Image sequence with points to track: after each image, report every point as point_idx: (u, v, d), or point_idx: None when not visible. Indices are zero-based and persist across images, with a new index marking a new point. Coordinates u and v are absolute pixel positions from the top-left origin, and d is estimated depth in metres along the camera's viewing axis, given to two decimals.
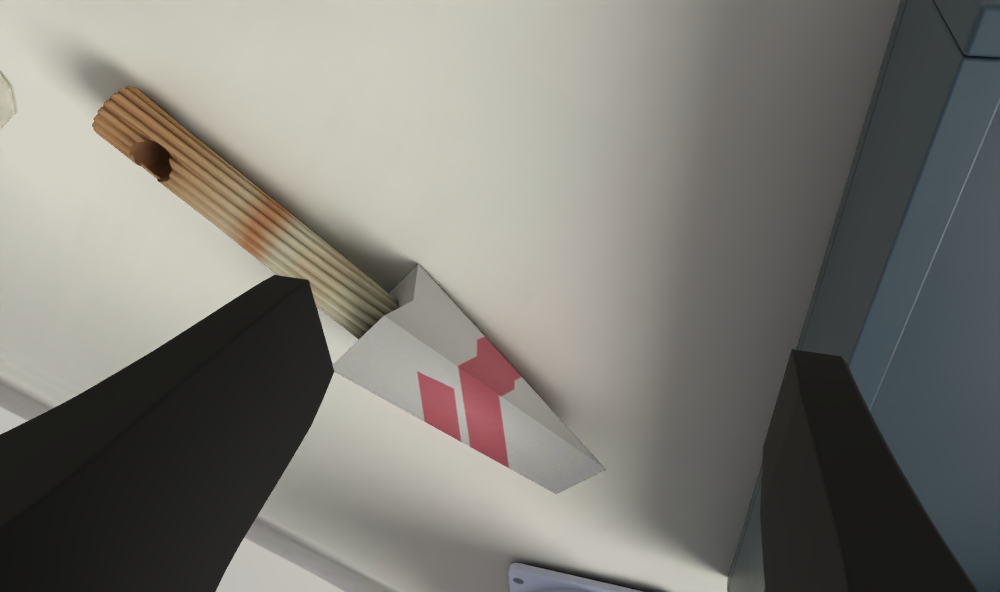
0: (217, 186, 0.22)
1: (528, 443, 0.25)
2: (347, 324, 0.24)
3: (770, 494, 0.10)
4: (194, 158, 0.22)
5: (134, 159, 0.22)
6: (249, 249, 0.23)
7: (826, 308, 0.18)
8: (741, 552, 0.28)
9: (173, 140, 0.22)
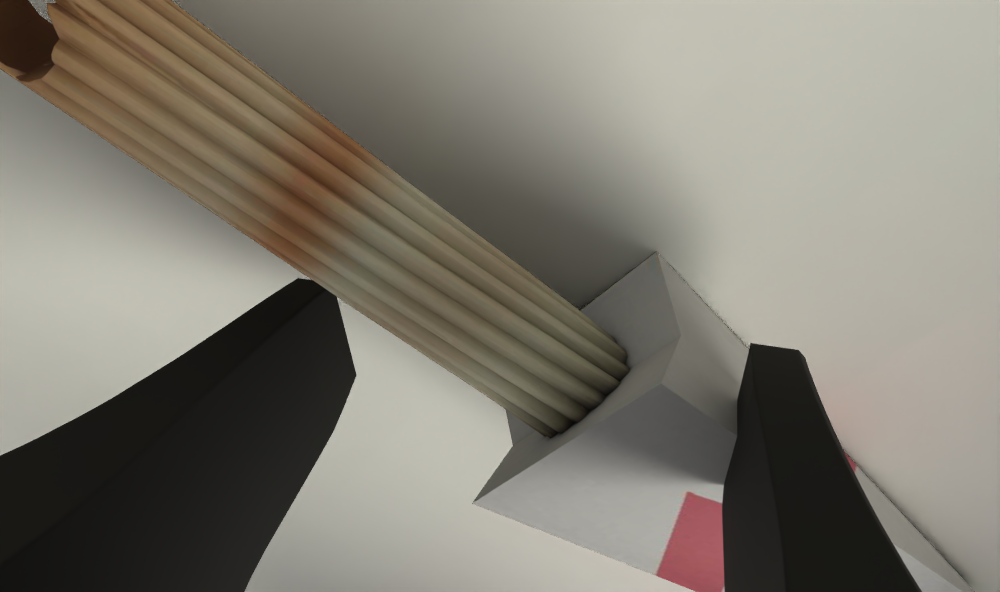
0: (193, 83, 0.08)
1: None
2: (524, 406, 0.10)
3: (730, 486, 0.10)
4: (121, 6, 0.08)
5: None
6: (284, 248, 0.09)
7: None
8: None
9: None
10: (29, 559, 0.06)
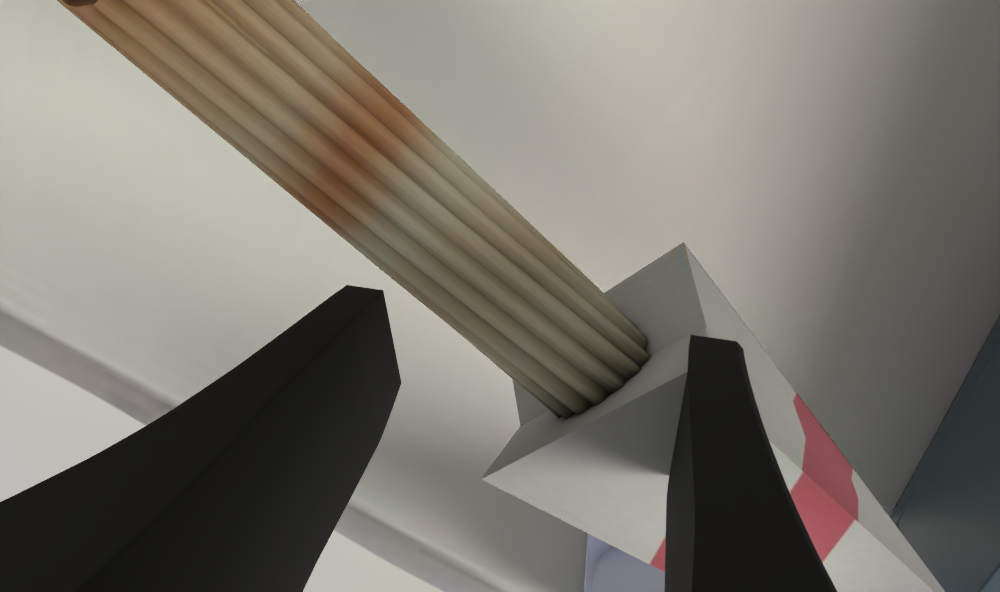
0: (250, 24, 0.08)
1: None
2: (545, 384, 0.10)
3: (671, 475, 0.10)
4: None
5: None
6: (323, 204, 0.09)
7: None
8: (932, 475, 0.20)
9: None
10: (106, 580, 0.06)
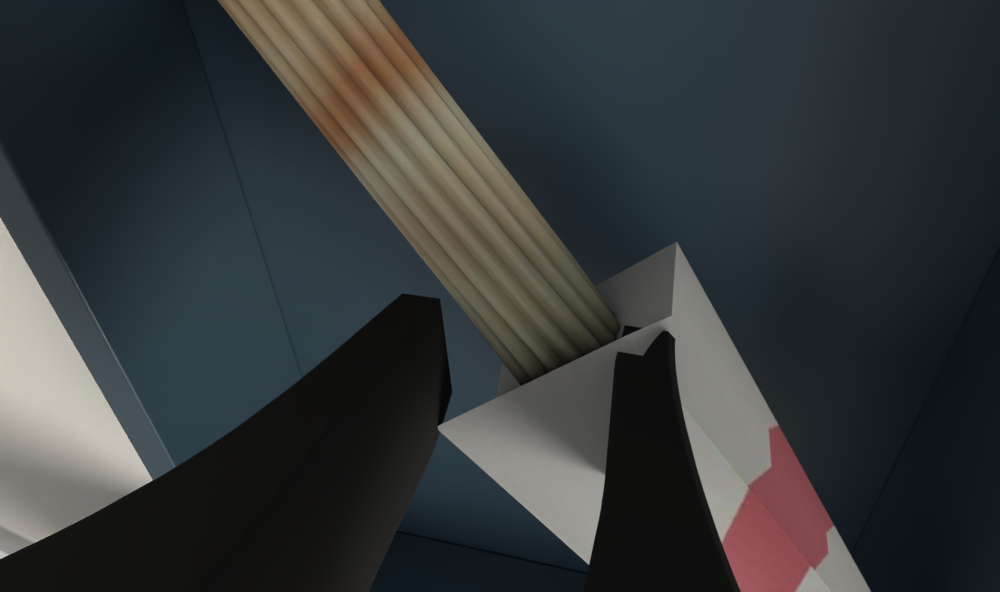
0: None
1: None
2: (504, 341, 0.11)
3: None
4: None
5: None
6: (331, 128, 0.10)
7: None
8: None
9: None
10: None
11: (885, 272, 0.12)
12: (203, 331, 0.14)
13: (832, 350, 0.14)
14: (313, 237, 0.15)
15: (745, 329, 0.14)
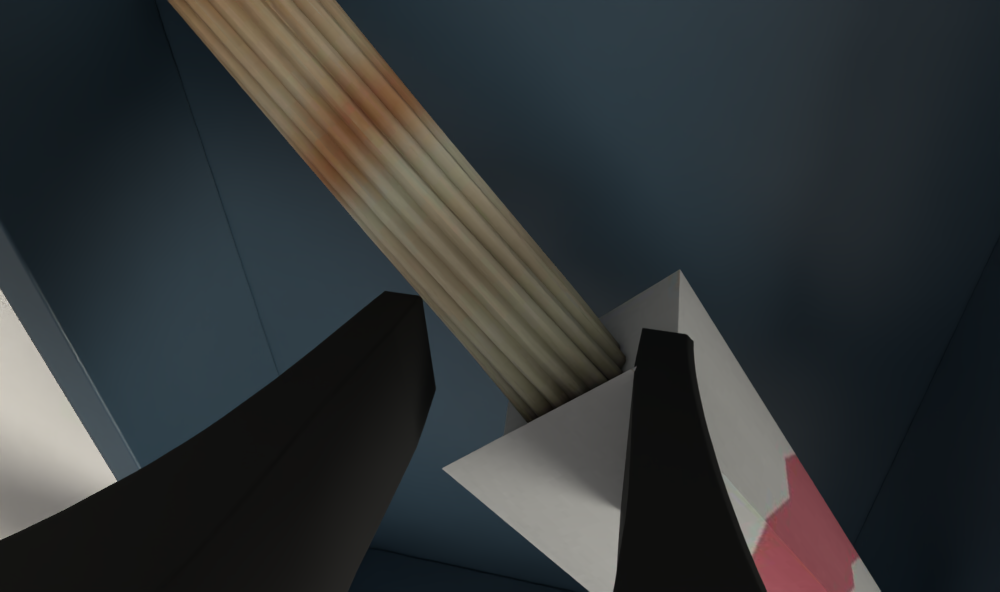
0: (283, 5, 0.09)
1: None
2: (509, 378, 0.10)
3: None
4: None
5: None
6: (325, 170, 0.10)
7: None
8: None
9: None
10: None
11: (871, 290, 0.12)
12: (183, 352, 0.14)
13: (819, 368, 0.14)
14: (295, 255, 0.15)
15: (731, 347, 0.14)
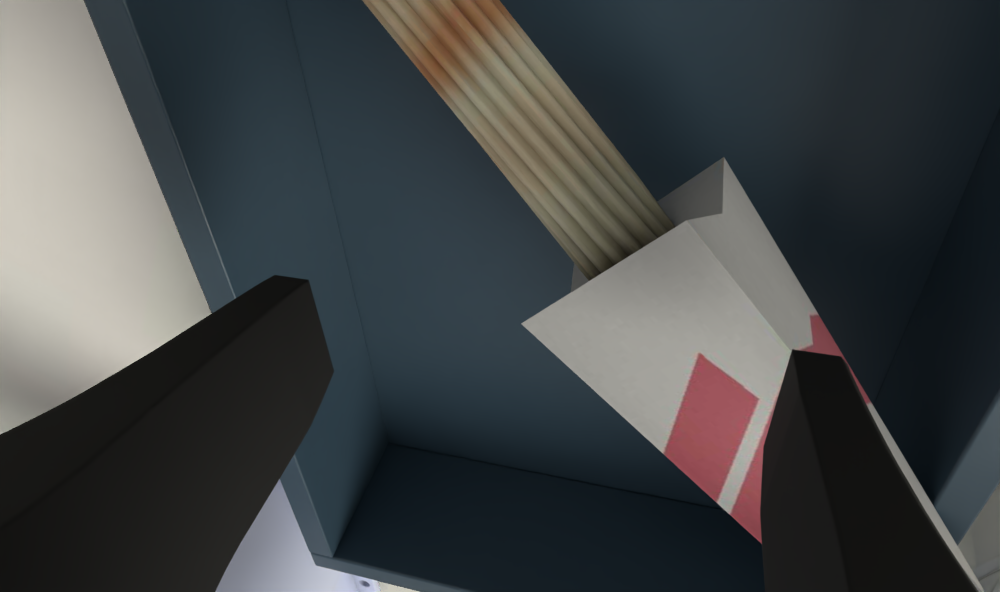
0: None
1: None
2: (580, 243, 0.12)
3: (770, 494, 0.10)
4: None
5: None
6: (432, 68, 0.12)
7: None
8: None
9: None
10: None
11: (881, 181, 0.14)
12: (282, 242, 0.16)
13: (835, 256, 0.16)
14: (375, 164, 0.17)
15: None
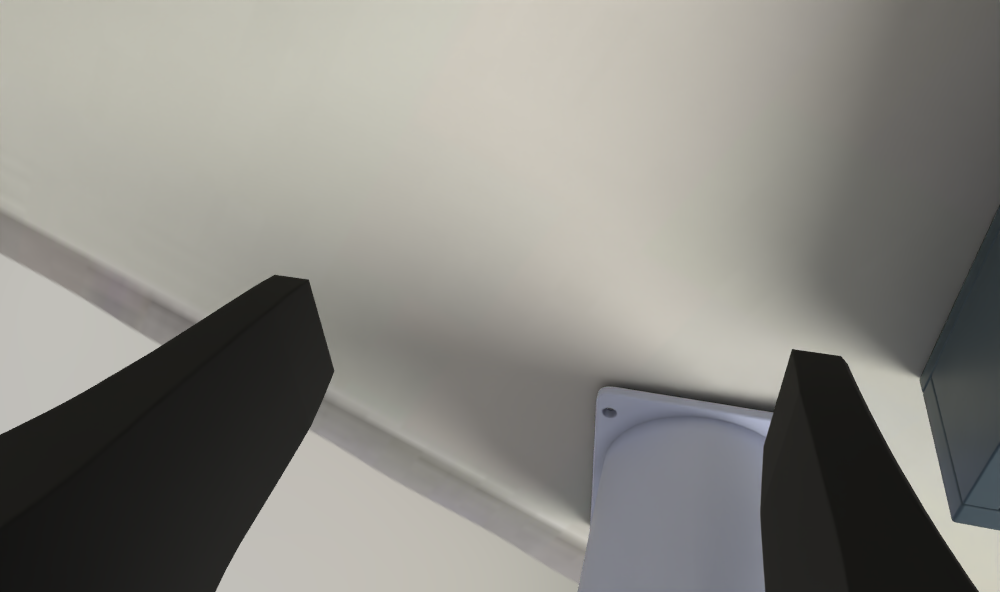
0: None
1: None
2: None
3: (770, 494, 0.10)
4: None
5: None
6: None
7: None
8: (970, 306, 0.19)
9: None
10: None
11: None
12: None
13: None
14: None
15: None
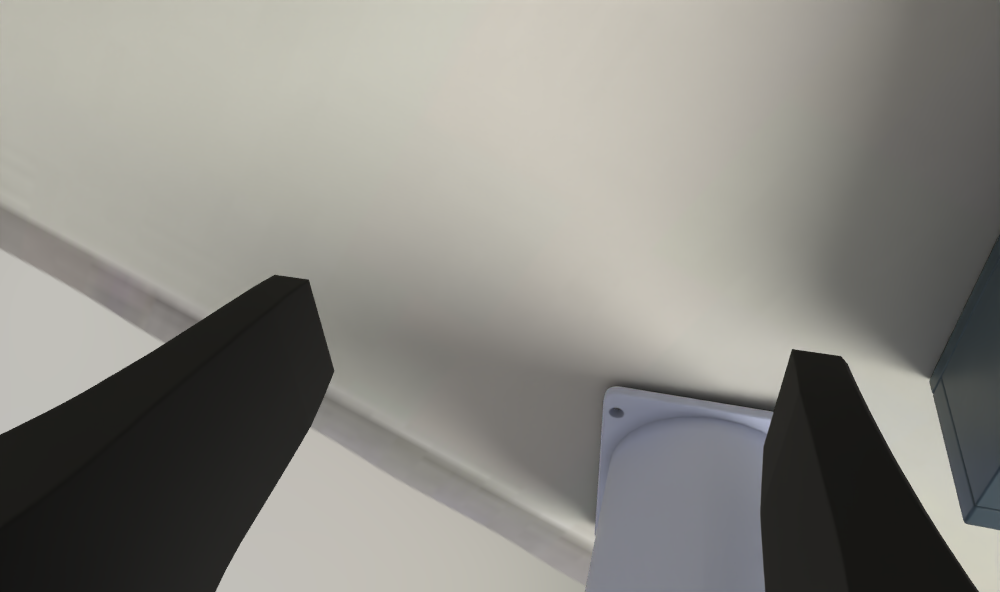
0: None
1: None
2: None
3: (770, 494, 0.10)
4: None
5: None
6: None
7: None
8: (983, 307, 0.19)
9: None
10: None
11: None
12: None
13: None
14: None
15: None
